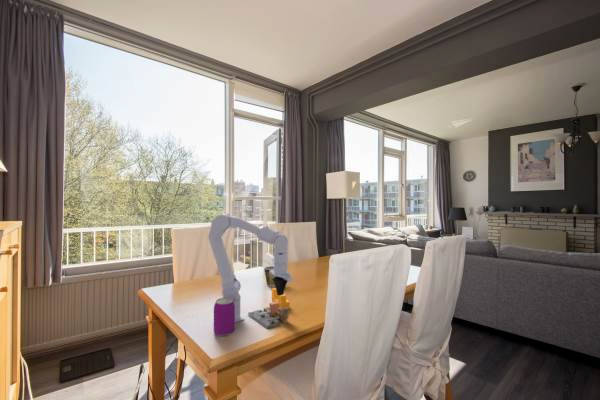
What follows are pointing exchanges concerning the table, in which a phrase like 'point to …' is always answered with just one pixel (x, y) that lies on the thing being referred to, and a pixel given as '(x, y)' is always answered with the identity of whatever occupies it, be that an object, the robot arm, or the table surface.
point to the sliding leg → (272, 308)
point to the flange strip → (263, 319)
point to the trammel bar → (279, 314)
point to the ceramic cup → (269, 276)
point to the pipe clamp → (280, 299)
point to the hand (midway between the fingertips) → (280, 294)
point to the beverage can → (224, 316)
